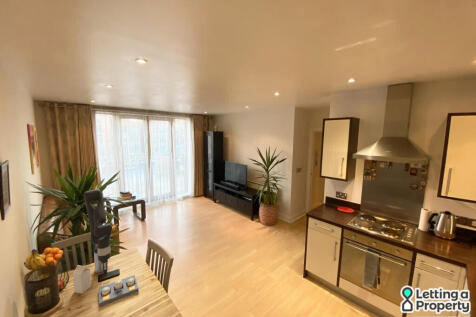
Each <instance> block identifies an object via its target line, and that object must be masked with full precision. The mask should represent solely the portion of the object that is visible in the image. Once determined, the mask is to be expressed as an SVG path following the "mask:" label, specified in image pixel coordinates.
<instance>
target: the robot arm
mask: <svg viewBox="0 0 476 317" xmlns="http://www.w3.org/2000/svg"><path fill="white" fill-rule="evenodd" d="M83 200H84V203H85V207H86V212H87V219H88V220H87V221H88V224H89V229H90V230H89V231H90V232H89V233H90V242H91V244H92V245H97V246H95V247H94V248H93V256H94V259H93V260H94V272H95V273H98V274H100V273H103V277H105V276H107V275H108V268H109V260H110V259H111V256H112V254H111V253H112V252H111V251H112V250H111V243H110V242H111V241H110V240H111V234H112V231H113V225H112V224H110V223H106V222H107V217H106V212H105V207H104V198H103V193H102V190H101V189H100V188H96V189H91V190H86V191H84V193H83ZM96 202H97V204H96V207H95V206H94V205H93V204H92V203H96ZM105 223H106V224H105Z"/></svg>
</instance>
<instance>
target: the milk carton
mask: <svg viewBox="0 0 476 317" xmlns="http://www.w3.org/2000/svg"><path fill="white" fill-rule="evenodd" d="M72 277H73V279H72V280H73V292H74V293H77V294H83V293H86V291H87V290H88V289H90V288H91V287H92V286H91V285H92V281H91V268H88V267H87V265H79V264H77V265H76V268H75V270H74V271H73V272H72Z"/></svg>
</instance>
